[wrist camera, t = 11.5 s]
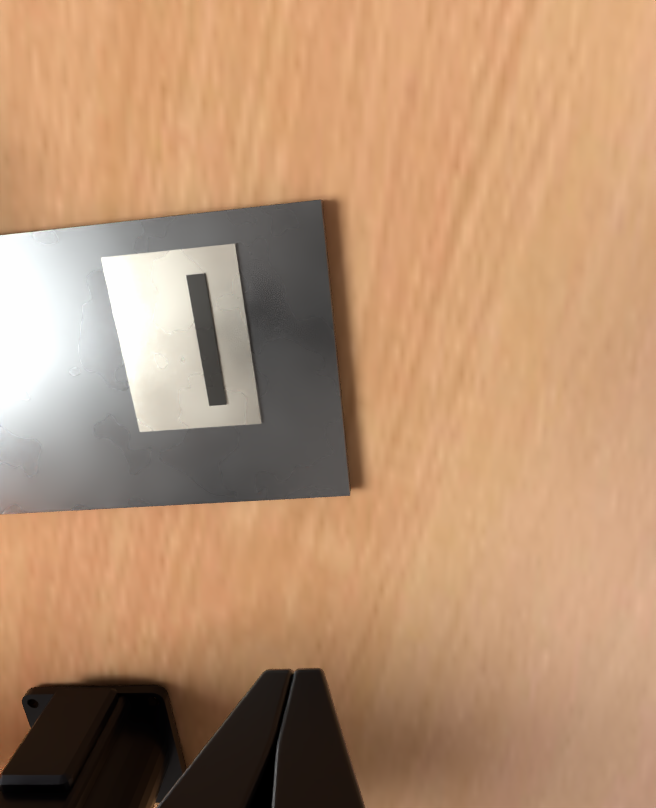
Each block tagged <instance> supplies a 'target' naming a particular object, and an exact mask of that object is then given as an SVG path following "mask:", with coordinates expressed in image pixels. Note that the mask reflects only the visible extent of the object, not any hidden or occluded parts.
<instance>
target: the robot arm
mask: <svg viewBox="0 0 656 808" xmlns="http://www.w3.org/2000/svg"><path fill="white" fill-rule="evenodd" d="M154 697H155V698H154ZM22 704H23V707H24V710H25V713H26V716H27V719H28V721H29V724H30V727H31V729H30V731H29V732H28V734H27V735H26V737H25V738H24V740H23V741H22V743H21V744H20V746H19V747H18V749H17V750H16V752H15V753H14V755H13V756H12V758H11V759H10V761H9V762H8V764H7V765H6V767H5V768H4V769H3V771H2V772H1V774H0V808H153V807H154V804H155V803H160V804H159V805H158V806H157V808H365V805H364V802H363V798H362V795H361V792H360V789H359V785H358V782H357V779H356V775H355V772H354V769H353V766H352V762H351V759H350V756H349V752H348V749H347V746H346V743H345V739H344V736H343V733H342V729H341V726H340V723H339V719H338V716H337V713H336V710H335V706H334V703H333V700H332V696H331V693H330V690H329V687H328V683H327V680H326V677H325V674H324V671H323V670H322V669H320V668H304V669H297V670H296V671H295V672H294V671H292V670H291V669H268V670H266V671H264V672H263V673H262V674H261V676H260V677H259V678H258V679H257V681H256V682H255V683H254V684H253V686H252V687H251V688H250V690H249V691H248V692H247V693H246V695H245V696H244V697H243V698H242V700H241V701H240V702H239V704H238V705H237V706H236V707H235V709H234V710H233V711H232V712H231V714H230V715H229V716H228V717H227V719H226V720H225V721H224V723H223V724H222V725H221V726H220V728H219V729H218V730H217V731H216V733H215V734H214V735H213V736H212V738H211V739H210V740H209V742H208V743H207V744H206V745H205V747H204V748H203V749H202V750H201V752H200V753H199V754H198V756H197V757H196V758H195V759H194V761H193V762H192V763H191V764H190V766H189V767H188V768H187V769H186V766H185V762H184V758H183V753H182V749H181V745H180V741H179V737H178V733H177V729H176V725H175V721H174V717H173V713H172V709H171V704H170V700H169V696H168V693H167V691H166V690H165V689H164V688H163V687H161V686H158V685H129V686H73V687H34V688H31V689H29V690H28V691H27V693H26V694H25V696H24V697H23V699H22Z"/></svg>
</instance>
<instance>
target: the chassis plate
mask: <svg viewBox="0 0 656 808" xmlns="http://www.w3.org/2000/svg"><path fill="white" fill-rule="evenodd" d="M350 491H351V488H350V478H349V467H348V457H347V447H346V437H345V427H344V416H343V406H342V396H341V386H340V376H339V365H338V355H337V345H336V335H335V324H334V314H333V304H332V294H331V284H330V273H329V263H328V253H327V243H326V232H325V222H324V212H323V202H322V200H314V201H305V202H296V203H287V204H278V205H269V206H260V207H251V208H242V209H233V210H224V211H215V212H206V213H197V214H188V215H179V216H170V217H161V218H152V219H143V220H134V221H125V222H116V223H107V224H98V225H89V226H80V227H71V228H62V229H53V230H44V231H35V232H26V233H17V234H8V235H0V514H17V513H35V512H54V511H73V510H91V509H110V508H128V507H147V506H166V505H184V504H203V503H222V502H240V501H259V500H277V499H296V498H315V497H333V496H350Z"/></svg>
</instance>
